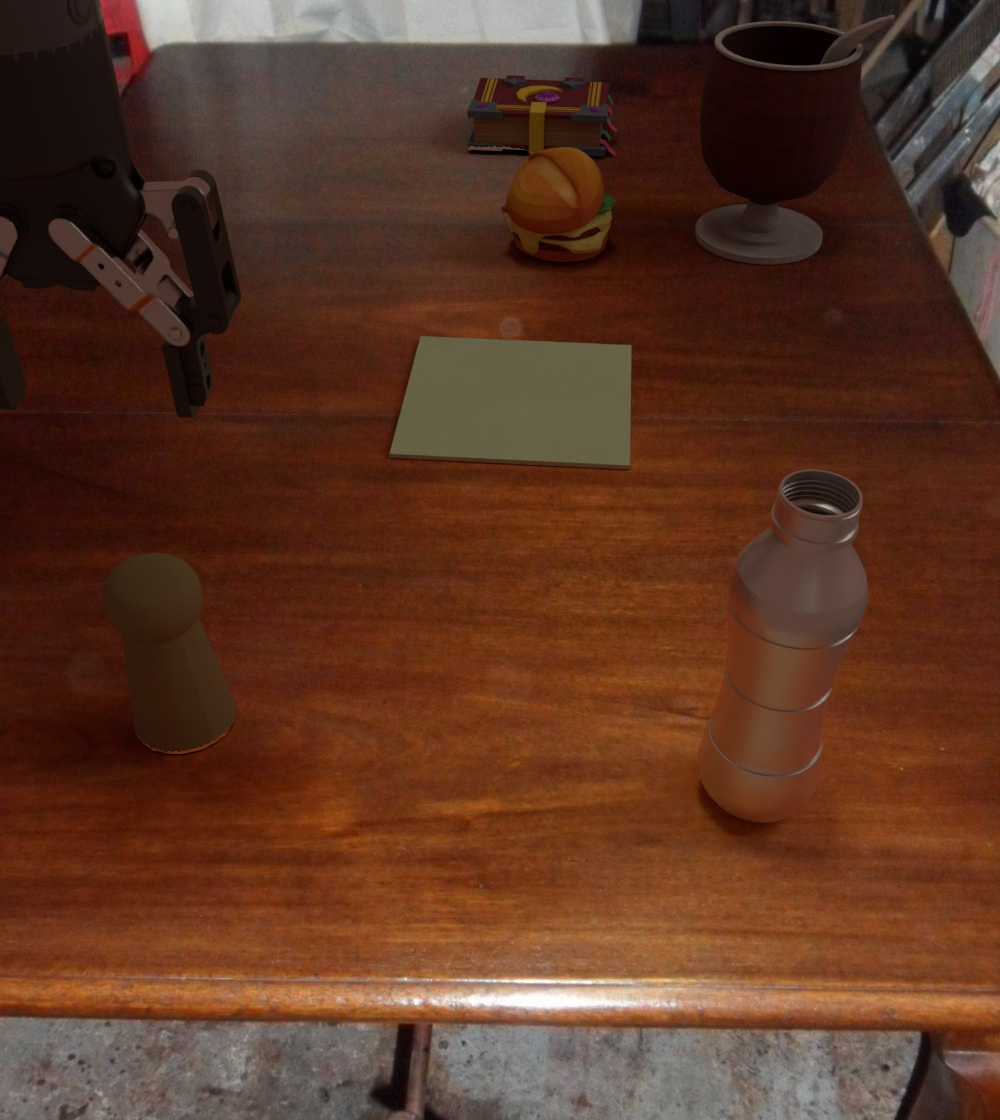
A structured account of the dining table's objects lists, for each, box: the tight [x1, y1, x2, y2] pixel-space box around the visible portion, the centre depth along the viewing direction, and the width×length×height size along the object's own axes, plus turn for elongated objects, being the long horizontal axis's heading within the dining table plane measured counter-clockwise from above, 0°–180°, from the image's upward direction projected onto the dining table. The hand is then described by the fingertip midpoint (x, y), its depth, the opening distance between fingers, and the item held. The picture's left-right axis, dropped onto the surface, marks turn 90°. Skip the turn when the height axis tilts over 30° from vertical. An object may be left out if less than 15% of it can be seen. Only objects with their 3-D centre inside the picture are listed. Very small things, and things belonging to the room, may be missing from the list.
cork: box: [101, 552, 238, 752], centre depth 66 cm, size 6×6×11 cm
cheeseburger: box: [500, 147, 619, 263], centre depth 111 cm, size 10×11×10 cm
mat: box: [389, 335, 633, 471], centre depth 95 cm, size 18×18×1 cm
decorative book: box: [466, 74, 618, 157], centre depth 132 cm, size 11×16×5 cm
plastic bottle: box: [697, 468, 869, 824], centre depth 59 cm, size 6×7×20 cm
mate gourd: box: [694, 14, 896, 266], centre depth 109 cm, size 16×14×20 cm
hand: (101, 405), depth 55 cm, fingers open, 8 cm apart
